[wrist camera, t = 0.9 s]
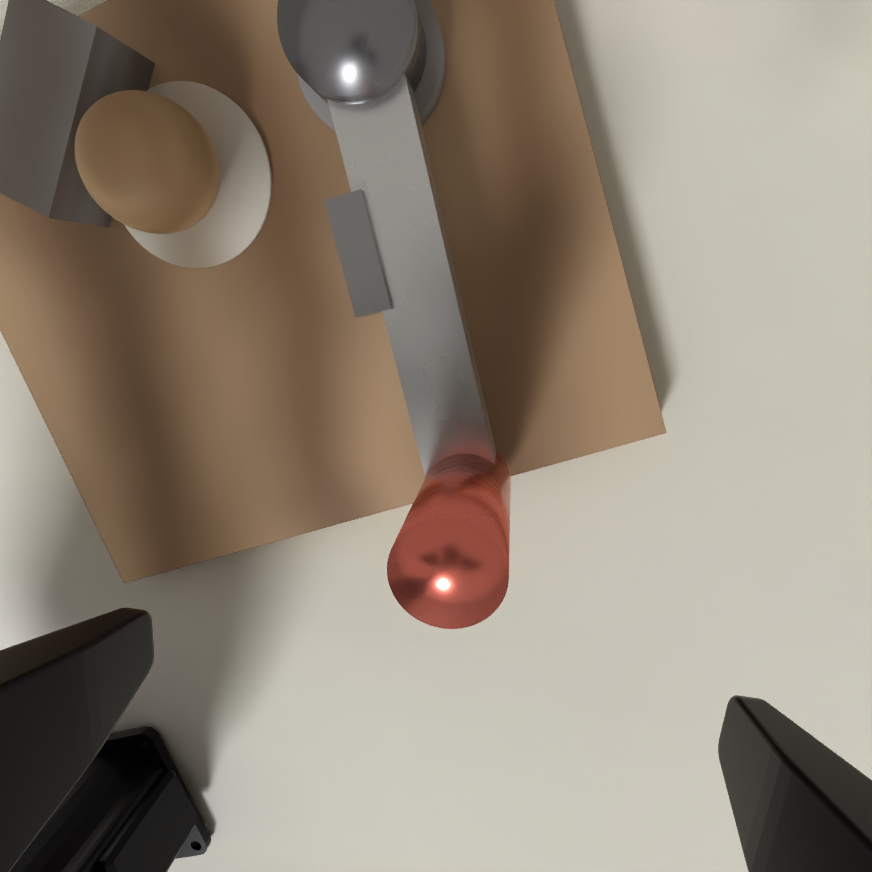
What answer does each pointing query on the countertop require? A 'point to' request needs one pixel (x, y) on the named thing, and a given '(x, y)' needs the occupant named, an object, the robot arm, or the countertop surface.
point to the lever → (409, 298)
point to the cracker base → (297, 275)
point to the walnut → (147, 162)
